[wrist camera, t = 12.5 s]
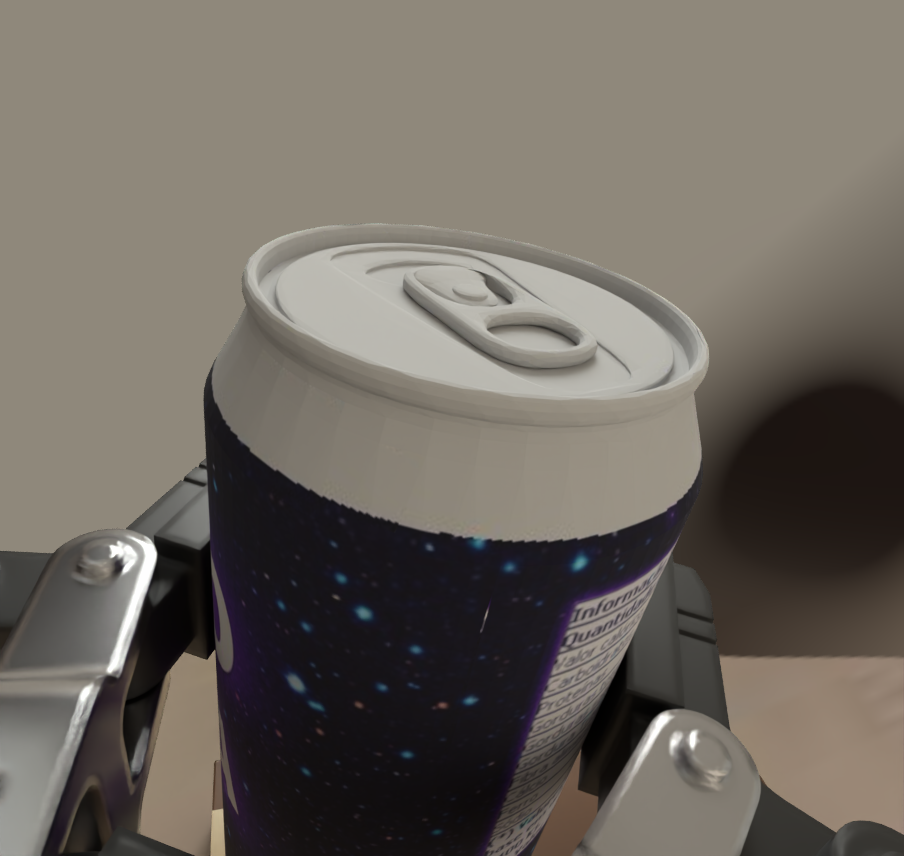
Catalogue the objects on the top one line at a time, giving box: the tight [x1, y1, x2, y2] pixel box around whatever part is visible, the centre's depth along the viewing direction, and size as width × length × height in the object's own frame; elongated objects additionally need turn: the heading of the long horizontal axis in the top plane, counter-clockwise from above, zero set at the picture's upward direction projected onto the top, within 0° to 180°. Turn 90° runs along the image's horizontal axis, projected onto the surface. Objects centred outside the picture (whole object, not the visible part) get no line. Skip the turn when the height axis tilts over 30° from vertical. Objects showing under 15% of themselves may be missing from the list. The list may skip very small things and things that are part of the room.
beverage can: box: [204, 223, 709, 856], centre depth 10 cm, size 6×6×12 cm
